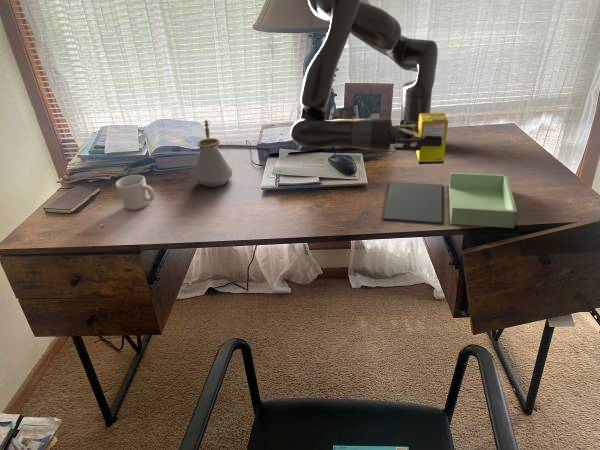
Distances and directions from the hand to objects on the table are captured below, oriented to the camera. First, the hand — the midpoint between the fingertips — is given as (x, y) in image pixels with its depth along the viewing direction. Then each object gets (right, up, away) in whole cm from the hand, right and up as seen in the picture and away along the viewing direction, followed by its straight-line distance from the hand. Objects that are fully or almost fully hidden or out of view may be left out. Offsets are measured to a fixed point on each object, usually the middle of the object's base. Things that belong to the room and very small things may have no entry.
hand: (441, 136), depth 104 cm
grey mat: (-4, -15, +11) cm, 19 cm away
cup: (-79, -16, +21) cm, 83 cm away
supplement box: (-2, -5, +4) cm, 7 cm away
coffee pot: (-61, -5, +35) cm, 71 cm away
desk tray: (+12, -16, +7) cm, 21 cm away
